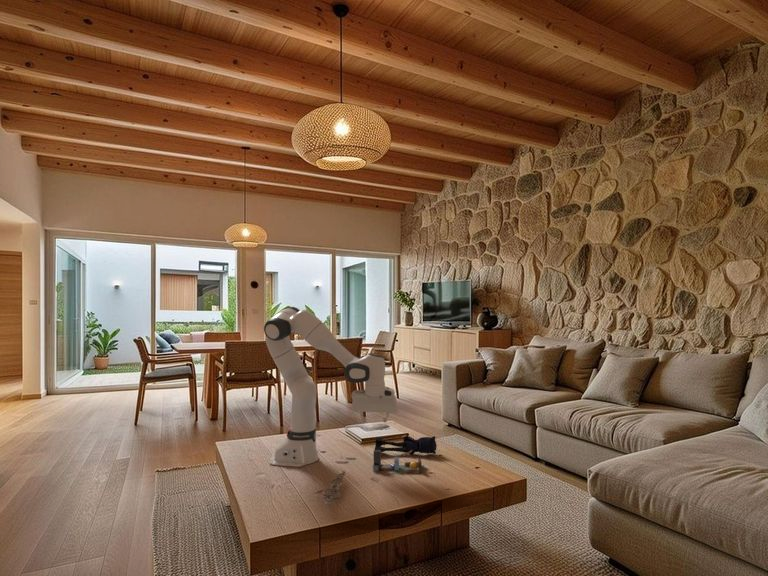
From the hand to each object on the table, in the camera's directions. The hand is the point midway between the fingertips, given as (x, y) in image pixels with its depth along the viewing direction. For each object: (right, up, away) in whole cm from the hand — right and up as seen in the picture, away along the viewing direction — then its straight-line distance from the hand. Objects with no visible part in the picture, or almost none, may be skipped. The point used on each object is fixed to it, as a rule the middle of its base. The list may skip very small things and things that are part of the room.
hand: (374, 421), depth 202 cm
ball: (+17, -18, -3) cm, 25 cm away
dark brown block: (+1, -21, -2) cm, 21 cm away
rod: (+5, -20, -2) cm, 21 cm away
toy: (+15, -21, +16) cm, 30 cm away
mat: (+15, -20, -3) cm, 25 cm away
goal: (+17, -20, -3) cm, 26 cm away
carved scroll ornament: (-15, -20, -28) cm, 38 cm away
